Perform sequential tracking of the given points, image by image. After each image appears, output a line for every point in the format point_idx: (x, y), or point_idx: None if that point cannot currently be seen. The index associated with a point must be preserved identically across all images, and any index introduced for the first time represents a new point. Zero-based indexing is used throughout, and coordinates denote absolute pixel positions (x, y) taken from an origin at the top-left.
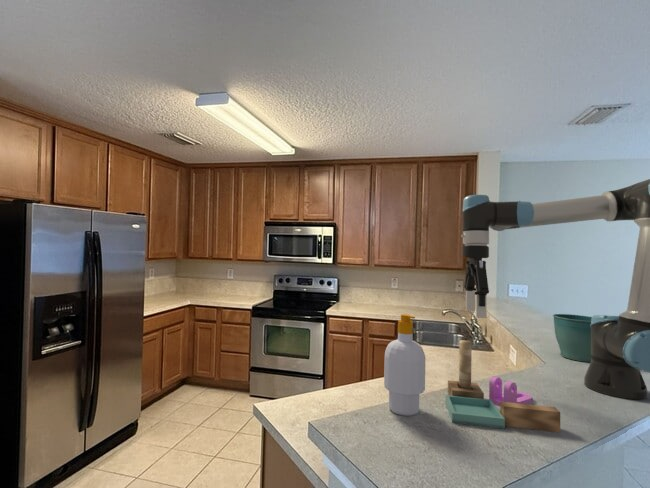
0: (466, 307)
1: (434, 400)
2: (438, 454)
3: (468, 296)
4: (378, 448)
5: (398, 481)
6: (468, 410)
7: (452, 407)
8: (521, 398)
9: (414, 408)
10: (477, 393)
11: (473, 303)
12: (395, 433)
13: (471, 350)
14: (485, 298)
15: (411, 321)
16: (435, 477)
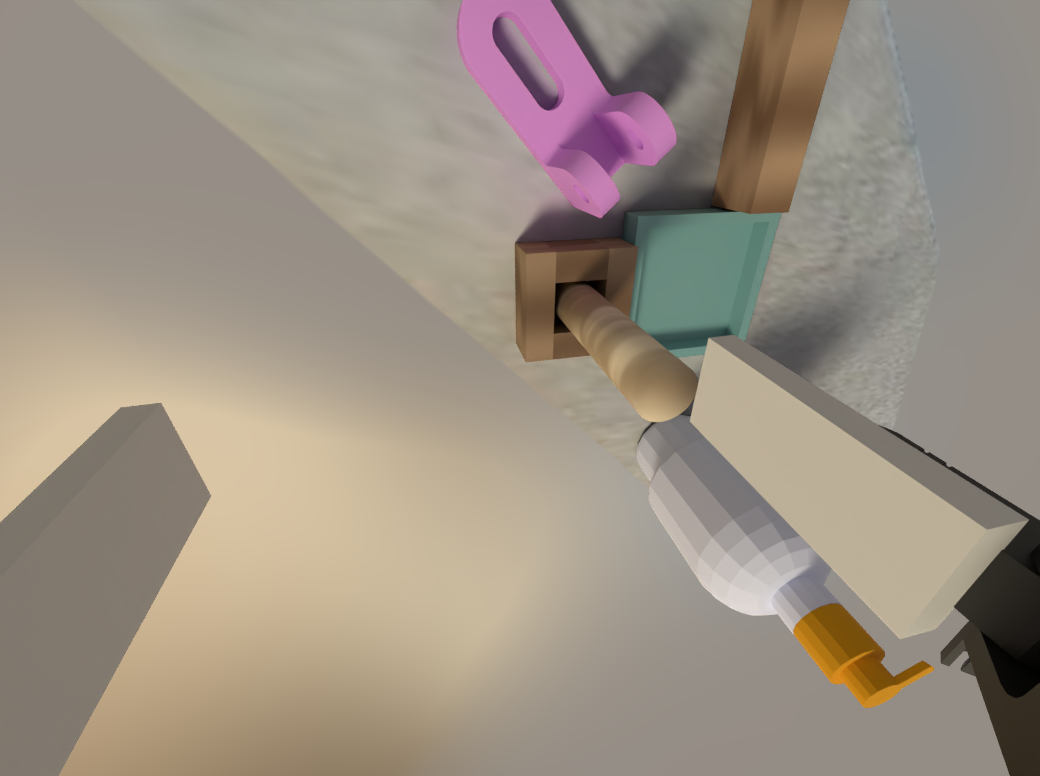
0: (189, 530)
1: (594, 380)
2: (844, 369)
3: (67, 698)
4: None
5: (894, 418)
6: (672, 295)
7: None
8: (556, 48)
9: None
10: (633, 268)
11: (97, 507)
12: None
13: (661, 345)
14: (950, 487)
15: (864, 654)
16: (899, 373)
